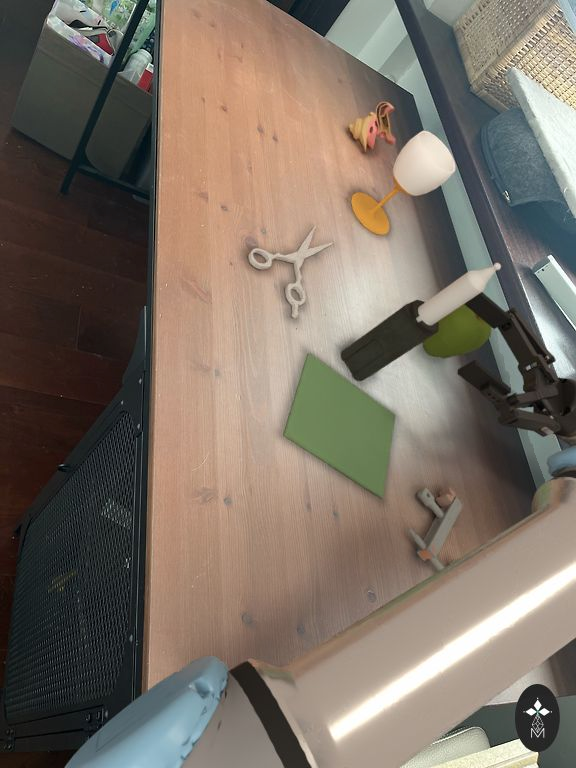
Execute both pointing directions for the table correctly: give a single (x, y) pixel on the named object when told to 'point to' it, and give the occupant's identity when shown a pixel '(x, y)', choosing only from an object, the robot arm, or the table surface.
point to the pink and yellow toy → (374, 126)
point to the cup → (408, 178)
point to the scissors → (297, 260)
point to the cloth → (341, 425)
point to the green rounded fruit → (458, 334)
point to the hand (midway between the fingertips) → (467, 328)
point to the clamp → (437, 524)
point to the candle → (411, 325)
